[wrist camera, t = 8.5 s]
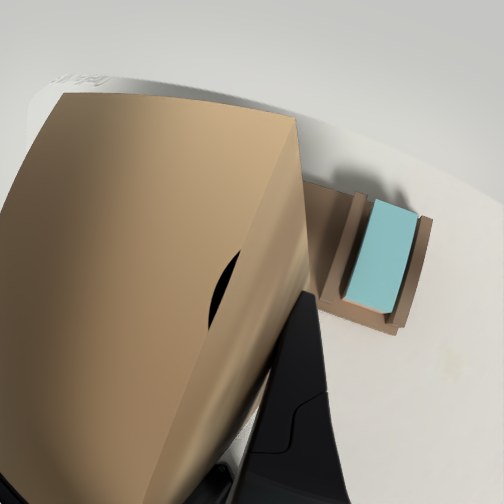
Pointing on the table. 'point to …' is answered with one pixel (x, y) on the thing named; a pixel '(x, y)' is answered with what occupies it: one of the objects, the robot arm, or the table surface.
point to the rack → (353, 256)
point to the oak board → (143, 292)
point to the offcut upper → (382, 257)
